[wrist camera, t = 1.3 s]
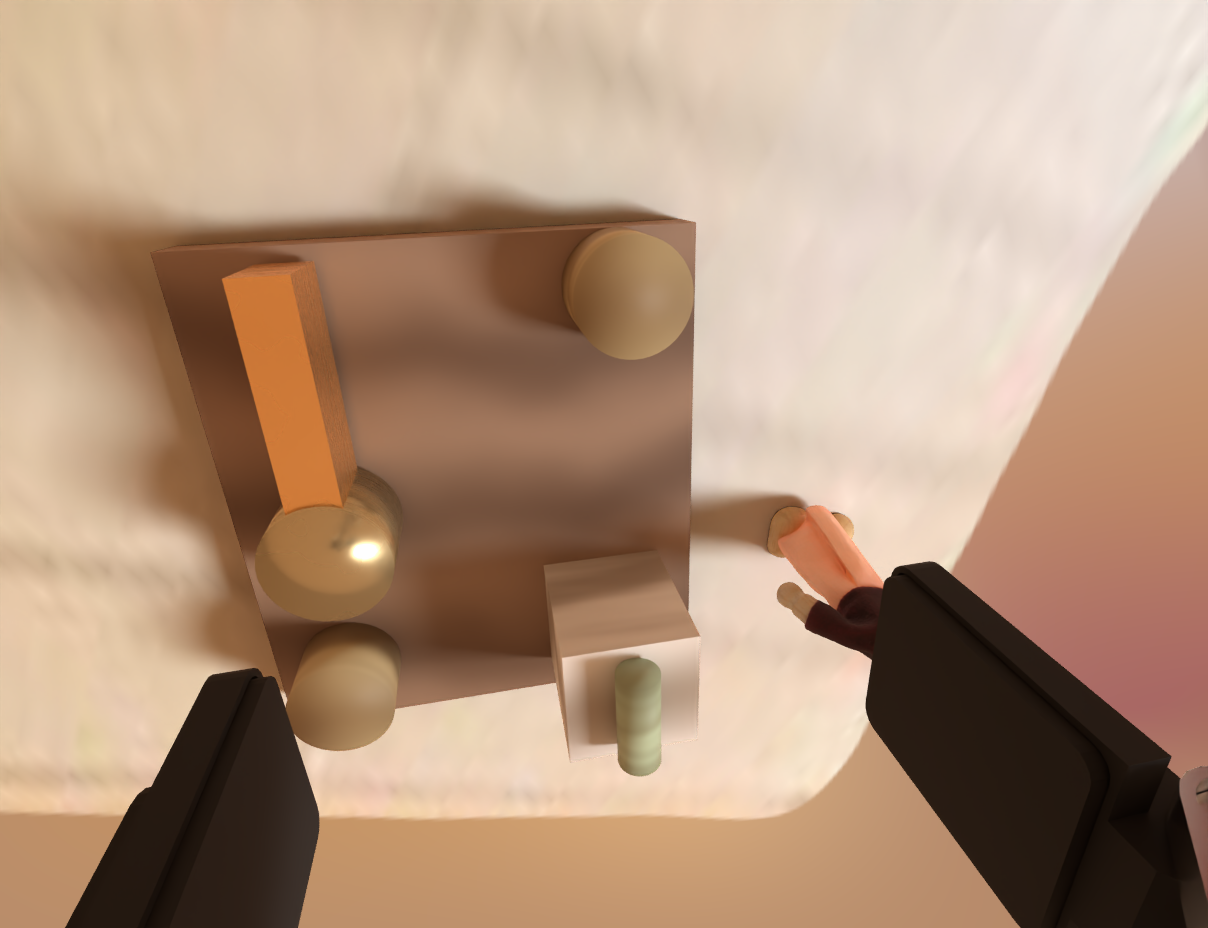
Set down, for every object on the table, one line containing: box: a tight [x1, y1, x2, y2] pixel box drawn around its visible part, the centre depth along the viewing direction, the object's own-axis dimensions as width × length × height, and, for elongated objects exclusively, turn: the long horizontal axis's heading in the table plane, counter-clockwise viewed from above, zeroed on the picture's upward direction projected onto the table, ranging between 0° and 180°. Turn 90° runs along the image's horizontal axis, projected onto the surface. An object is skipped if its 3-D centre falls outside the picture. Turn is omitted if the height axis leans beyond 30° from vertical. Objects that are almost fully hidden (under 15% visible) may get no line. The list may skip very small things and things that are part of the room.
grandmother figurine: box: [767, 505, 884, 660], centre depth 27 cm, size 8×4×13 cm, turn 85°
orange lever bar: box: [222, 261, 403, 621], centre depth 22 cm, size 12×4×4 cm, turn 2°
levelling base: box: [151, 219, 700, 776], centre depth 24 cm, size 20×18×10 cm
